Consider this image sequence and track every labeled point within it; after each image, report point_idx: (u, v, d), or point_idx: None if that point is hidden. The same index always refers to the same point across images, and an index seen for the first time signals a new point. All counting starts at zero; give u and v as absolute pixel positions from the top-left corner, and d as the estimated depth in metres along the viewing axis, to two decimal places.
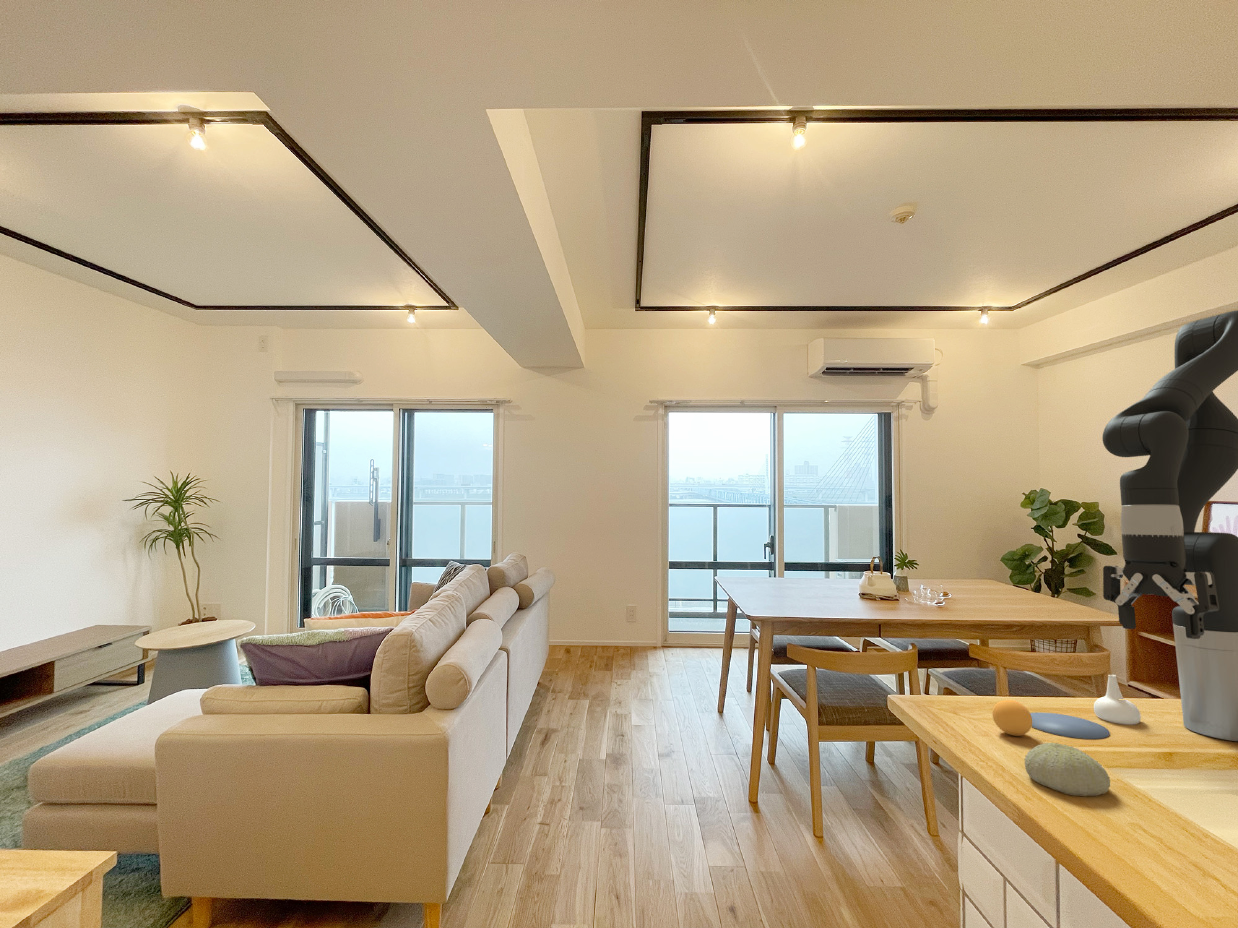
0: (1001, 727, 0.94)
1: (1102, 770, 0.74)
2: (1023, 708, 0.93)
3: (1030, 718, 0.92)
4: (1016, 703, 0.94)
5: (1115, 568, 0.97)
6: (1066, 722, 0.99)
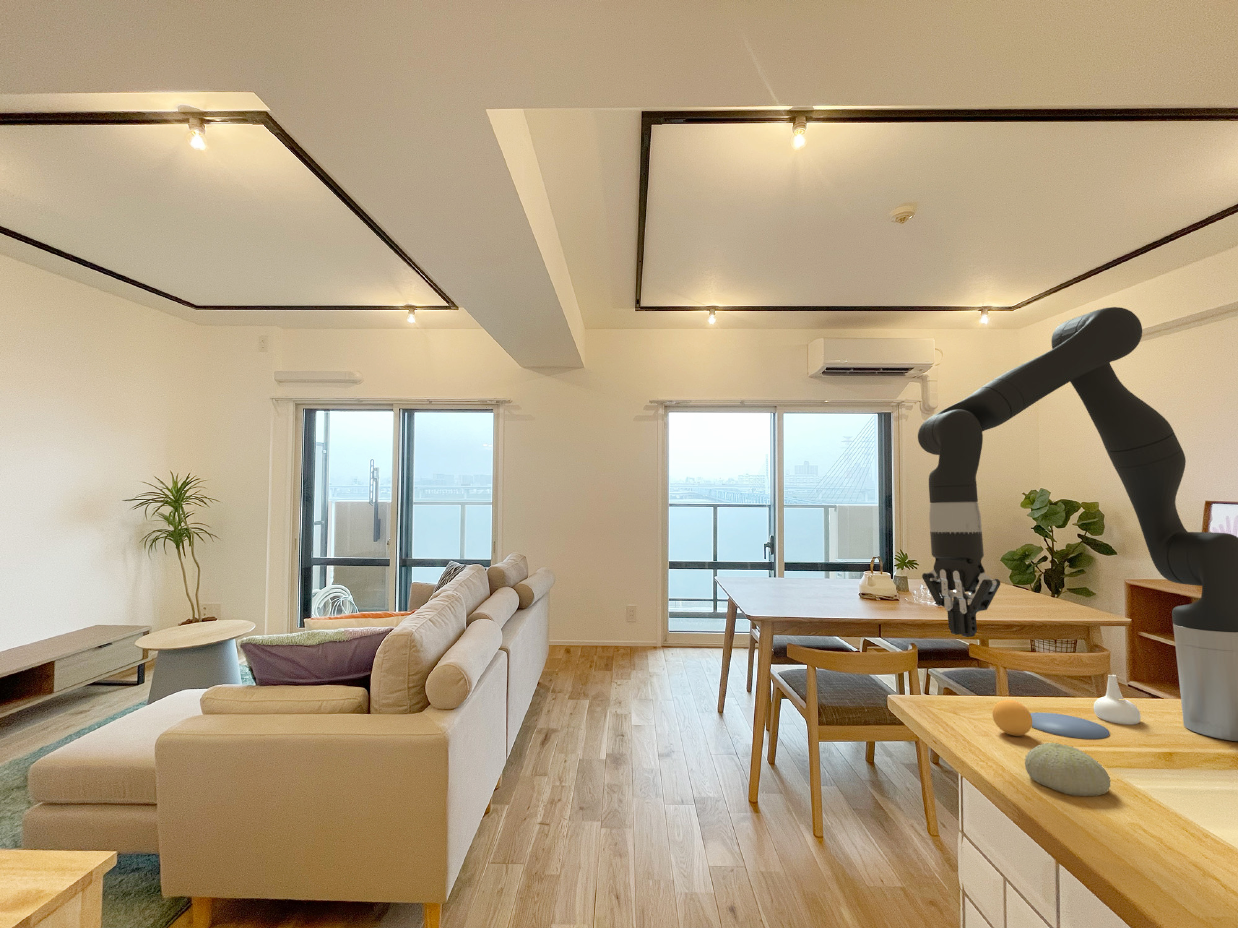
0: (1001, 727, 0.94)
1: (1102, 770, 0.74)
2: (1023, 708, 0.93)
3: (1030, 718, 0.92)
4: (1016, 703, 0.94)
5: (930, 573, 0.98)
6: (1066, 722, 0.99)
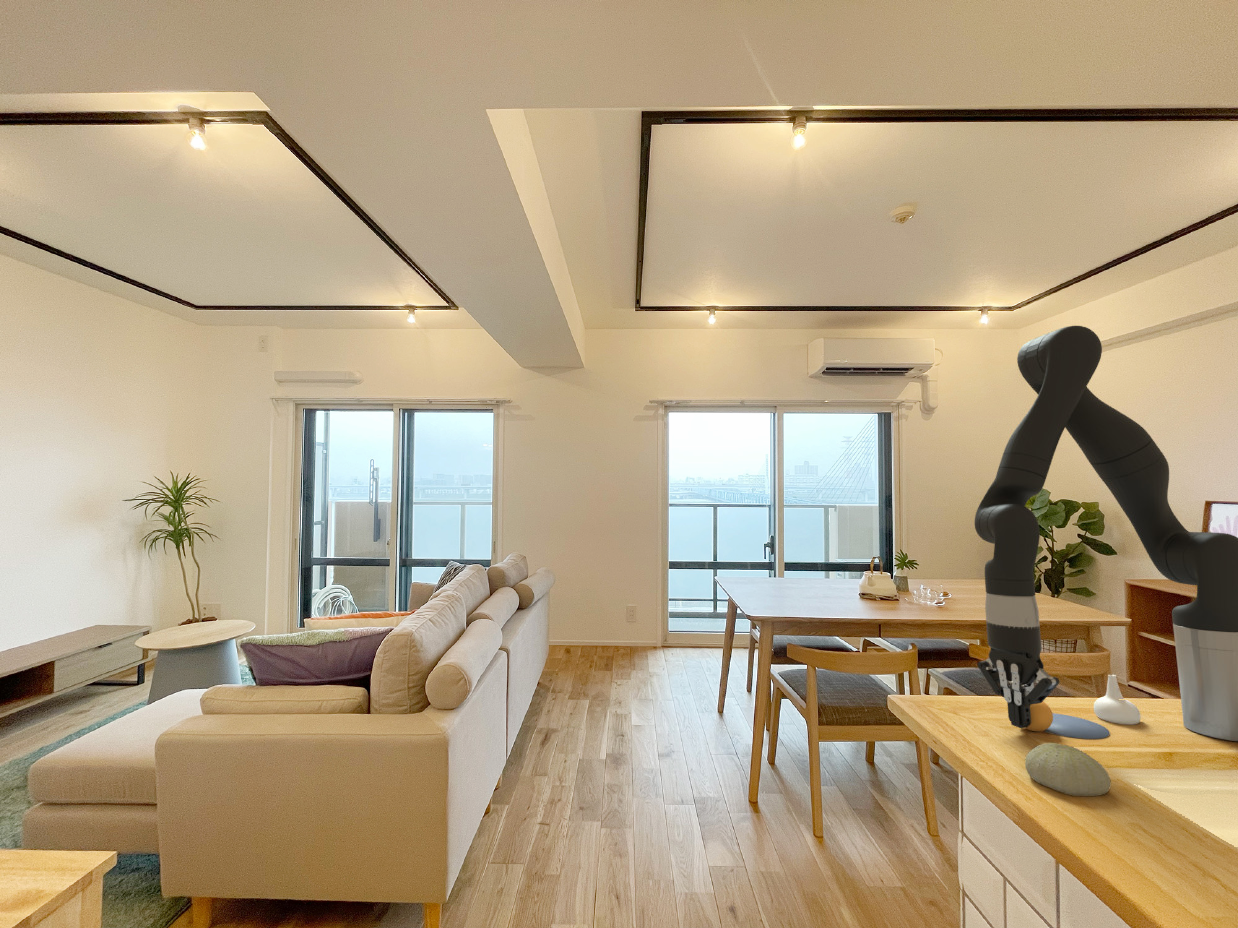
0: None
1: (1103, 770, 0.74)
2: None
3: (1051, 722, 0.94)
4: None
5: (985, 661, 1.00)
6: (1066, 722, 0.99)
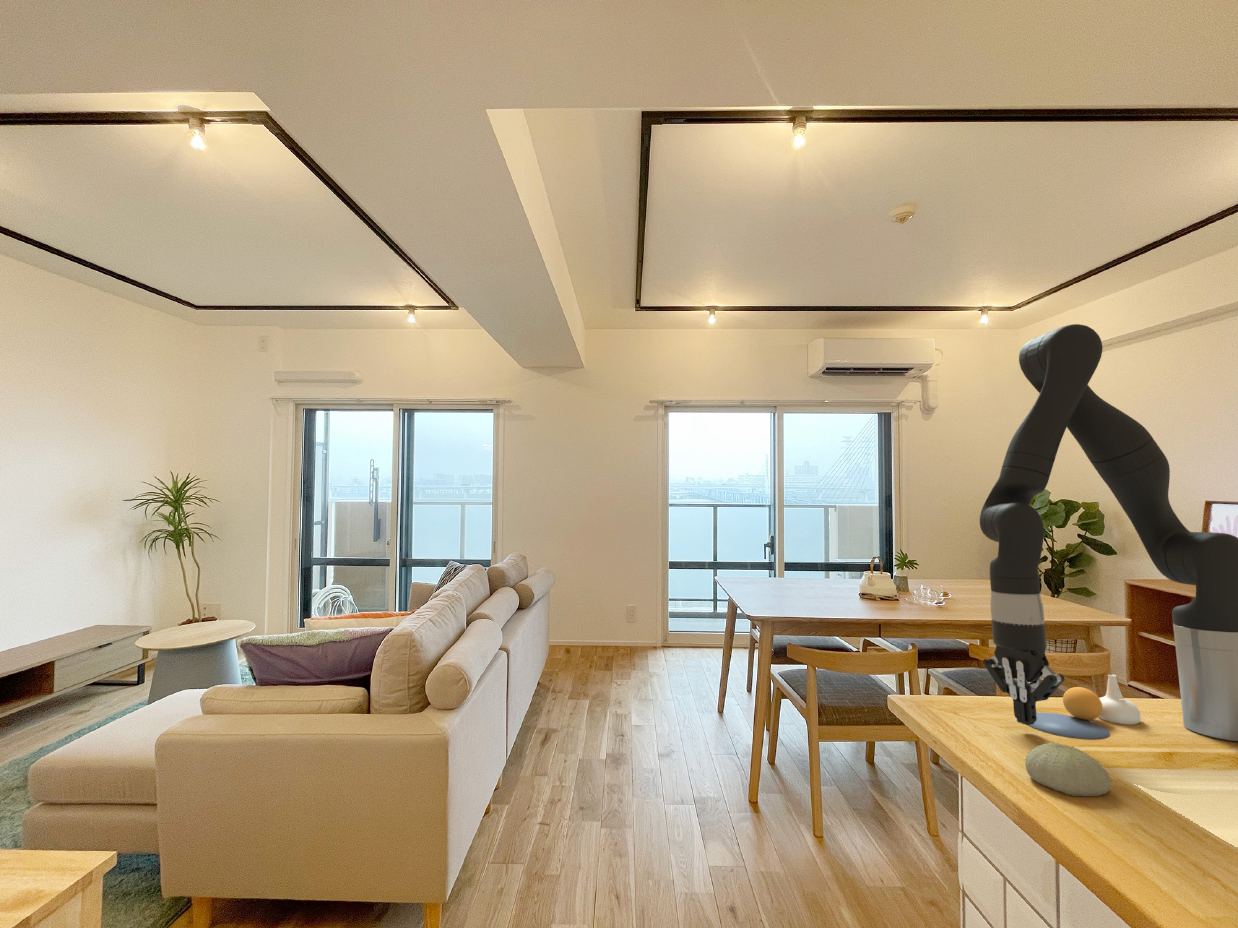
0: (1072, 711, 1.00)
1: (1103, 770, 0.74)
2: (1094, 694, 0.99)
3: (1100, 703, 0.99)
4: (1087, 689, 1.00)
5: (991, 658, 1.01)
6: (1066, 722, 0.99)
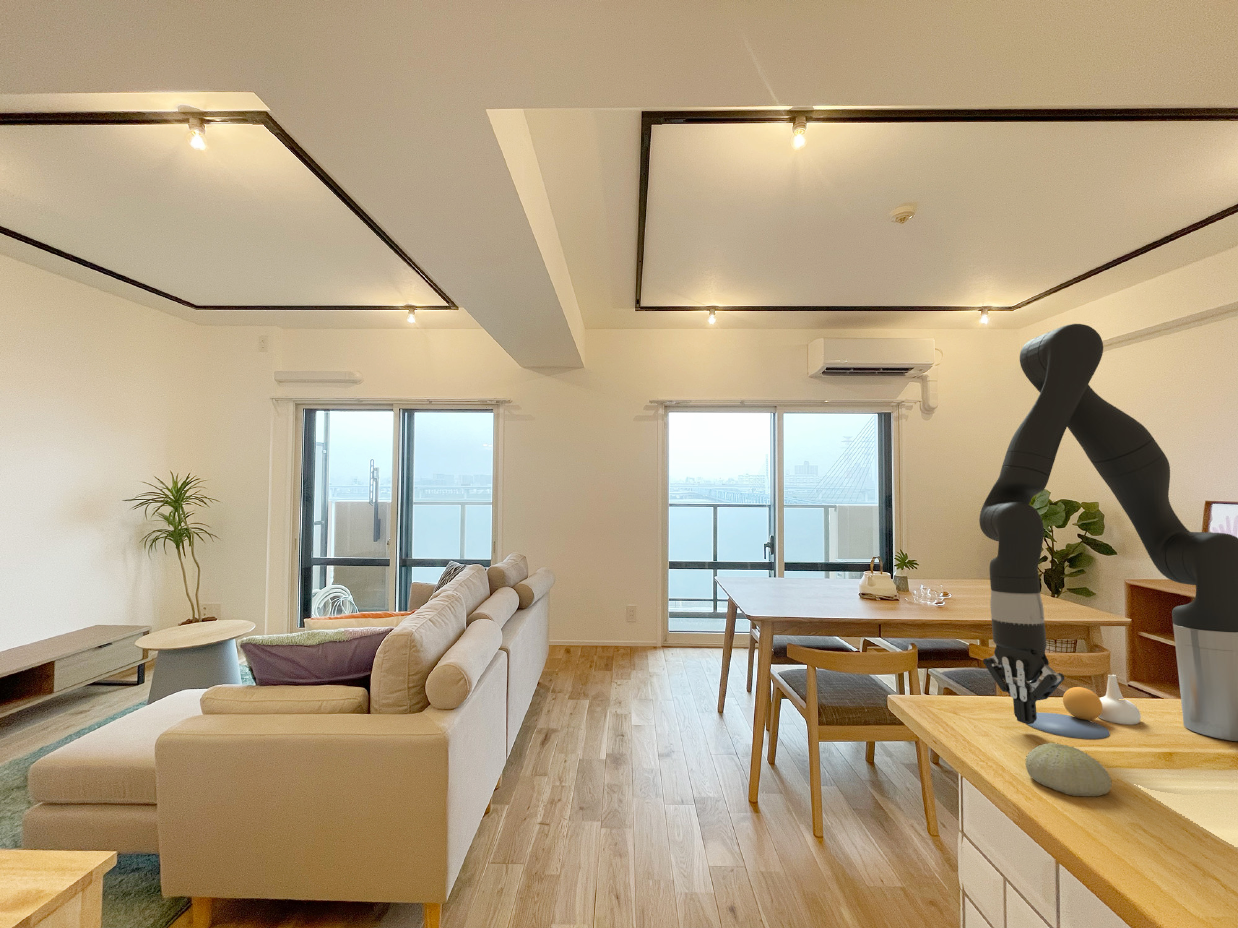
0: (1072, 711, 1.00)
1: (1103, 770, 0.74)
2: (1094, 694, 0.99)
3: (1100, 703, 0.99)
4: (1087, 689, 1.00)
5: (991, 658, 1.01)
6: (1066, 722, 0.99)
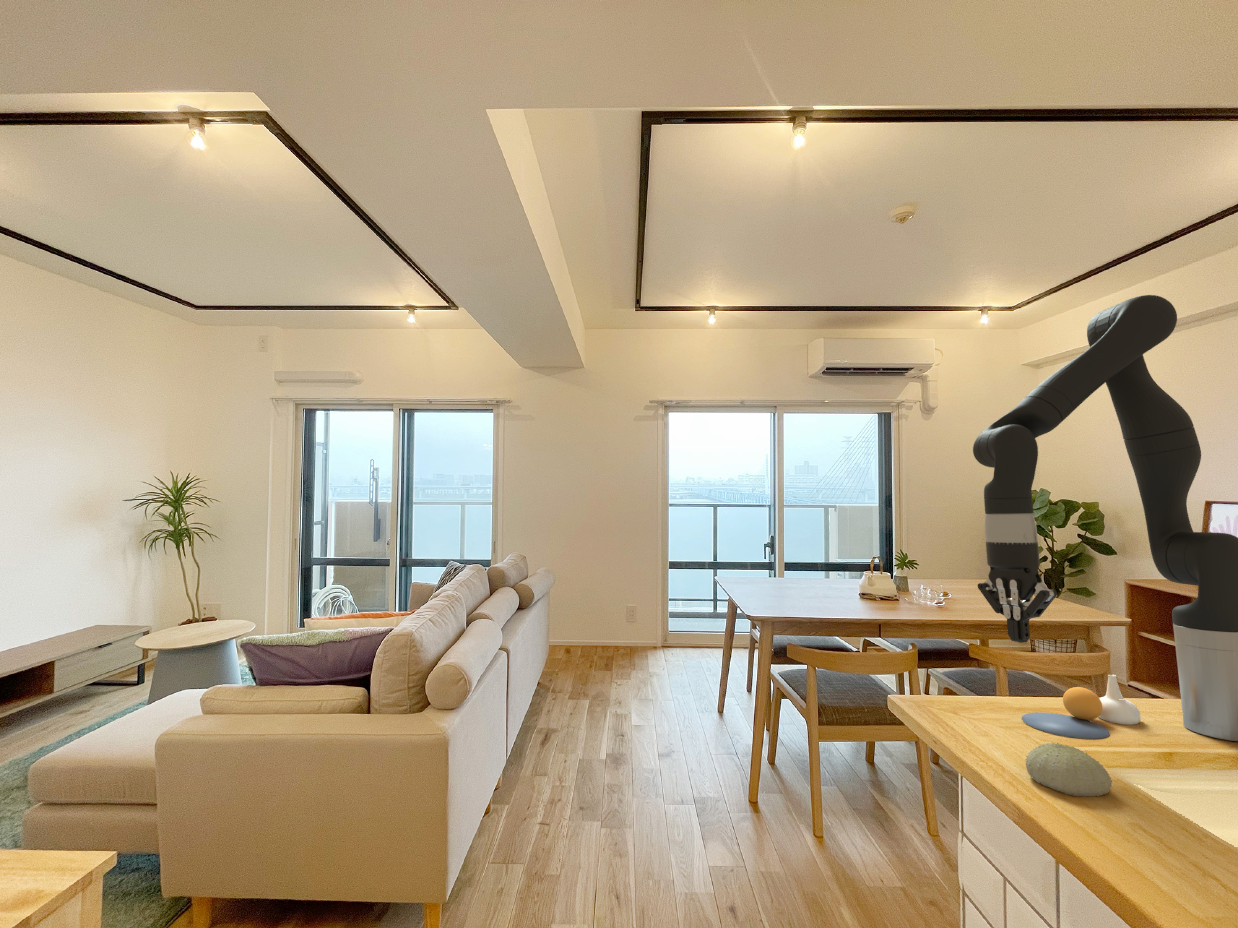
0: (1072, 711, 1.00)
1: (1103, 770, 0.73)
2: (1094, 694, 0.99)
3: (1100, 703, 0.99)
4: (1087, 689, 1.00)
5: (985, 582, 1.02)
6: (1066, 722, 0.99)
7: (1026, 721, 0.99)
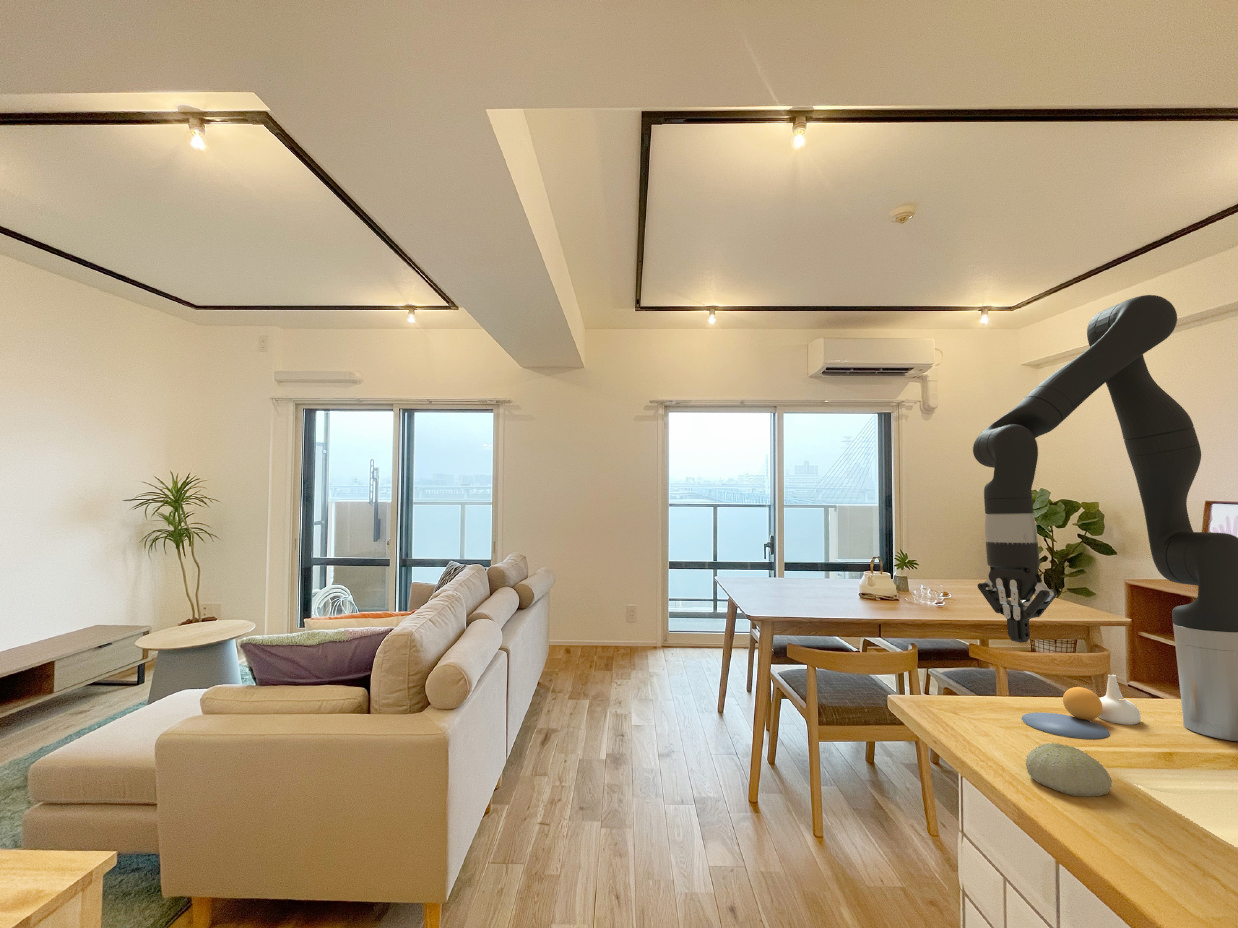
0: (1072, 711, 1.00)
1: (1103, 771, 0.73)
2: (1094, 694, 0.99)
3: (1100, 703, 0.99)
4: (1087, 689, 1.00)
5: (985, 582, 1.02)
6: (1066, 722, 0.99)
7: (1026, 721, 0.99)
